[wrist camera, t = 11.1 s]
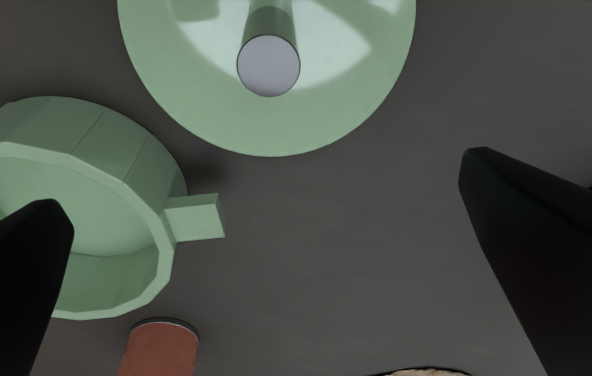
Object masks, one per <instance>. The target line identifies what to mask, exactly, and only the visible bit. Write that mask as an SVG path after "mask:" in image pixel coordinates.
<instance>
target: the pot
mask: <svg viewBox="0 0 592 376" xmlns="http://www.w3.org/2000/svg"><path fill="white" fill-rule="evenodd" d="M49 198H52V199H55V200H57V201H58V202H59V203H60V205H61V206H62V208H63V209H64V211H65V213H66V214H67V216H68V217H69V219H70V221H71V222H72V224H73V226H74V230H75V235H74V240H73V244H72V248H71V252H70V255H69V259H68V263H67V267H66V271H65V275H64V279H63V283H62V287H61V290H60V294H59V297H58V300H57V303H56V306H55V308H54V311H53V314H52V316H51V317H57V318H65V319H73V320H88V319H98V318H108V317H117V316H119V315H122V314H124V313H127V312H129V311H132V310H134V309H136V308H139V307H141V306H144V305H146V304H148V303H150V302H151V301H152V299H153V298H154V297H155V296H156V295H157V294H158V293H159V292H160V291H161V290H162V289H163V288H164V286H165V285H166V284H167V283H168V282H169V280H170V278H171V274H172V271H173V267H174V263H175V260H176V256H177V252H178V249H179V245H180V242H181V241H191V240H201V239H210V238H220V237H225V232H226V221H225V218H224V214H223V211H222V207H221V204H220V200H219V197H218V193H209V194H200V195H190V196H188V190H187V186H186V182H185V179H184V176H183V174H182V172H181V169H180V168H179V166H178V164H177V162H176V161H175V159H174V158H173V156H172V155H171V154H170V152H169V151H168V150H167V149H166V147H165V146H164V145H163V144H162V143H161V142H160V141H159V140H158V139H157V138H156V137H155V136H153V135H152V134H151V133H150V132H148V131H147V130H146V129H145V128H144V127H142V126H141V125H139V124H137V123H136V122H134V121H133V120H131V119H130V118H128V117H126V116H124V115H122V114H120V113H118V112H116V111H114V110H112V109H109V108H107V107H104V106H102V105H99V104H96V103H92V102H89V101H85V100H81V99H75V98H70V97H59V96H40V97H31V98H25V99H20V100H17V101H14V102H10V103H6V104H5V105H3V106H2V107H0V220H2V219H3V218H5V217H7V216H8V215H10V214H12V213H13V212H15V211H17V210H19V209H20V208H22V207H24V206H25V205H27V204H29V203H30V202H32V201H35V200H41V199H49Z"/></svg>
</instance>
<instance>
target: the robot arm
mask: <svg viewBox="0 0 592 376" xmlns="http://www.w3.org/2000/svg"><path fill="white" fill-rule="evenodd" d="M458 186H459V190H460V193H461V196H462V199H463V201H464V204H465V207H466V209H467V212H468V215H469V217H470V220H471V223H472V225H473V228H474V231H475V233H476V236H477V239H478V241H479V244H480V246H481V248H482V250H483V252H484V254H485V256H486V258H487V260H488V262H489V264H490V266H491V268H492V270H493V272H494V274H495V276H496V278H497V279H498V281H499V283H500V285H501V287H502V289H503V291H504V293H505V295H506V297H507V299H508V300H509V302H510V304H511V306H512V308H513V310H514V312H515V314H516V316H517V318H518V320H519V322H520V323H521V325H522V327H523V329H524V331H525V333H526V335H527V337H528V339H529V341H530V343H531V344H532V346H533V348H534V350H535V352H536V354H537V356H538V358H539V360H540V362H541V364H542V365H543V367H544V369H545V371H546V373H547V375H548V376H592V188H591V189H590V190H589V189H586V188H584V187H581V186H579V185H577V184H574V183H572V182H569V181H567V180H565V179H562V178H560V177H557V176H555V175H553V174H550V173H548V172H545V171H543V170H541V169H538V168H536V167H533V166H531V165H529V164H526V163H524V162H521V161H519V160H517V159H514V158H512V157H509V156H507V155H505V154H502V153H500V152H497V151H495V150H493V149H490V148H488V147H476V148H468V149H466V150H465V151H464V153H463V157H462V162H461V168H460V173H459V179H458ZM74 235H75V230H74V226H73V224H72V222H71V221H70V219H69V217H68V216H67V214H66V213H65V211H64V209H63V208H62V206H61V205H60V203H59V202H58V201H57V200H55V199H52V198H49V199H41V200H35V201H32V202H30V203H29V204H27V205H25V206H24V207H22V208H20V209H19V210H17V211H15V212H13V213H12V214H10V215H8V216H7V217H5V218H3V219H2V220H0V376H29V375H30V372H31V369H32V367H33V364H34V361H35V359H36V356H37V353H38V351H39V348H40V345H41V343H42V340H43V337H44V335H45V332H46V329H47V327H48V324H49V321H50V319H51V316H52V314H53V311H54V308H55V306H56V303H57V300H58V297H59V294H60V290H61V287H62V283H63V279H64V275H65V271H66V267H67V263H68V259H69V255H70V252H71V248H72V244H73V240H74Z"/></svg>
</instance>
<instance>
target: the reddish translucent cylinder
mask: <svg viewBox="0 0 592 376" xmlns="http://www.w3.org/2000/svg"><path fill="white" fill-rule="evenodd" d="M198 345H199V335H198V333H197V331H196V330H195V329H194V328H193V327H192V326H190V325H189V324H187V323H185V322H183V321H180V320H177V319H172V318H163V317H158V318H150V319H146V320H143V321H141V322H139V323H137V324H136V325H135V326H134V327H133V328H132V330H131V332H130V336H129V340H128V344H127V347H126V350H125V353H124V356H123V359H122V362H121V365H120V368H119V371H118V374H117V376H193V371H194V365H195V359H196V354H197V348H198Z"/></svg>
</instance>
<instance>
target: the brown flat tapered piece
mask: <svg viewBox="0 0 592 376" xmlns="http://www.w3.org/2000/svg"><path fill="white" fill-rule="evenodd" d="M385 376H470V375H464V374H462V373H456V372H450V371H445V370H444V371H441V370H438V371H436V369H427V370H415V369H411V370H403V371H396V372H394V373H393V374H392V375H385Z"/></svg>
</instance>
